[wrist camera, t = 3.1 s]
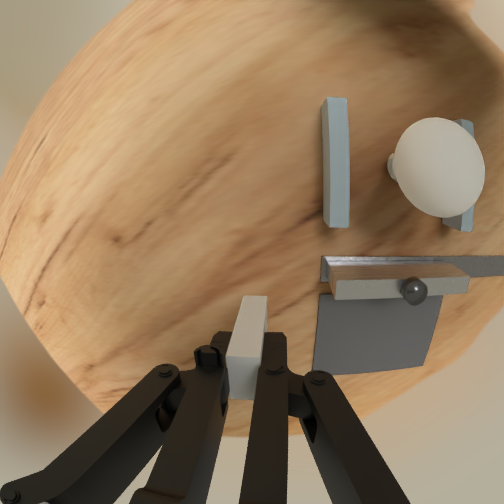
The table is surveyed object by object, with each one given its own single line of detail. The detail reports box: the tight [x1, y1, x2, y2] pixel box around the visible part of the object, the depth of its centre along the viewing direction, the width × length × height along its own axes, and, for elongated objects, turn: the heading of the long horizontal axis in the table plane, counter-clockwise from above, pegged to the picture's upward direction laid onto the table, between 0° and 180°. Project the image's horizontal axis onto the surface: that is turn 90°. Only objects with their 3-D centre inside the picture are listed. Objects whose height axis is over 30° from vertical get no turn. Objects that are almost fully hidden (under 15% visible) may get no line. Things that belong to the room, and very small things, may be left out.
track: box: [321, 256, 504, 282], centre depth 23 cm, size 2×28×1 cm, turn 92°
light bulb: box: [387, 117, 485, 218], centre depth 16 cm, size 7×7×11 cm
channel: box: [321, 97, 474, 232], centre depth 20 cm, size 10×14×4 cm
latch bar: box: [327, 261, 470, 306], centre depth 21 cm, size 2×13×6 cm, turn 92°
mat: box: [312, 294, 443, 375], centre depth 26 cm, size 10×14×1 cm
